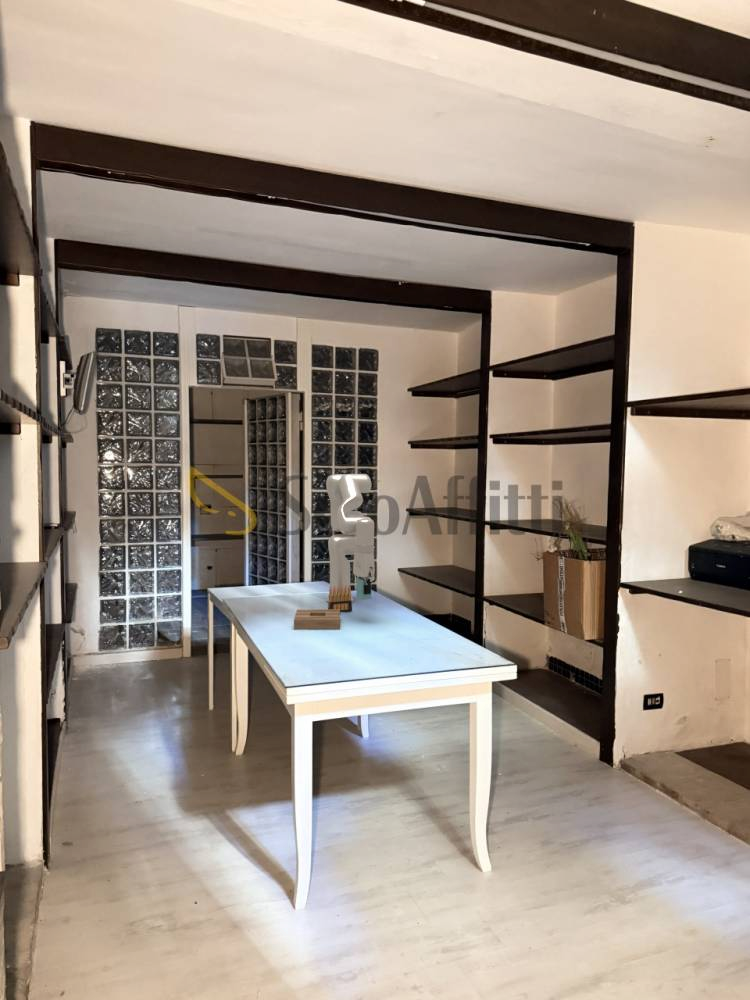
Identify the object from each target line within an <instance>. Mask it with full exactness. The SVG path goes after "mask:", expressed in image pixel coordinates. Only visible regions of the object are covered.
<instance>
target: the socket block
mask: <svg viewBox="0 0 750 1000" xmlns="http://www.w3.org/2000/svg"><path fill="white" fill-rule="evenodd" d="M294 629H308V630H340V629H341V613H340V609H328V608H325V609H323V608H321V609H320V608H319V609H317V608H316V609H315V608H313V609H311V608H310V609H308V608H306V609H296V611H295V615H294V618H293V630H294Z"/></svg>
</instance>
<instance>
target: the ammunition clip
mask: <svg viewBox="0 0 750 1000" xmlns="http://www.w3.org/2000/svg"><path fill="white" fill-rule="evenodd" d="M328 591H329V592H328V598H329V602H327V606H328V607H327V609H340V612H345V613H352V612H353V605H352V604H353V602H352V600H351V598H352V589H351V584H350V585H349V587H348V594H347V586H346V585H345V589H344V592H343V585H342V586H341V594H340V588H339V585H338V587H337V595H336V588H335V586H334V588H333V596H332V587H331V586H330V585H329V590H328ZM351 611H352V612H351Z"/></svg>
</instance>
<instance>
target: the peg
mask: <svg viewBox="0 0 750 1000" xmlns="http://www.w3.org/2000/svg"><path fill="white" fill-rule="evenodd" d="M368 579H369V578H368ZM368 579H367V580H368ZM372 584H373V583H372ZM372 584H371V586H373V585H372ZM364 585H365V581H364V578H356V598H357V599H359V600H368V599H372V593H371V594H366V595H365V594H364Z"/></svg>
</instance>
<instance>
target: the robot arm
mask: <svg viewBox="0 0 750 1000" xmlns="http://www.w3.org/2000/svg"><path fill="white" fill-rule="evenodd" d="M325 482H326V483H325V485H326V492H327V495H328V497H329V501H330V525H331V529H332V530H333V531H334V532H341V534H333V535H332V536H330V537H329V538H328V543H327V545H328V547H327V548H328V551H329V552H328V554H329V587H330V586H331V587H332V596H333V588H334V586H335V588H336V595H337V587H338V585H339V588H340V594H341V586H342V585H343V592H344V589H345V585H346V586H347V594H348V587H349V585H350V586H351V563H350V561H349V560H348V558H347V557H346V556H348V555H353V567H352V573H353V575H354V576H355V578H356V579H357V578H364V581H365V585H364V594H365V595H366V594H371V595H372V585H371V584H373V582H374V580H375V579H376V578H375V571H376V569H375V566H376V565H375V555H374V553H375V546H374V545H375V522H374V520H373V519H371V517H369V516H364V514H363V513H362V511H358V510H356V509H358V508H360V507H361V505H362V504H363V503H364V498H363V495H362V493H363V494H367V493H370V491H371V489H372V481H371V477H370V476H369V475H368V474H367V473H347V474H345V473H343V474H342V473H340V474H339V473H336V474H331V475H329V476H328V477H327V479H326V481H325ZM368 578H369V579H368ZM367 579H368V580H367ZM351 600H352V603H353V602H354V598H353V597H351ZM326 602H327V603H328V602H329V597H327V598H326Z"/></svg>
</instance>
